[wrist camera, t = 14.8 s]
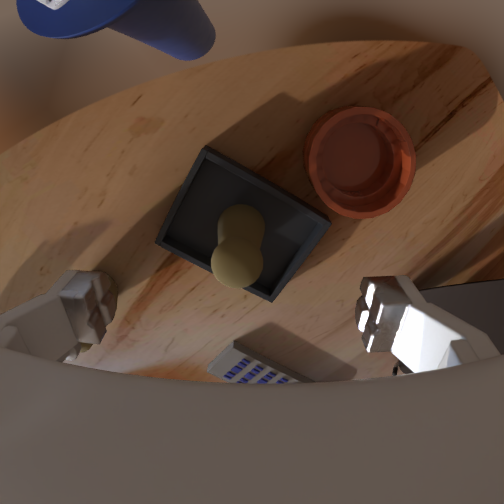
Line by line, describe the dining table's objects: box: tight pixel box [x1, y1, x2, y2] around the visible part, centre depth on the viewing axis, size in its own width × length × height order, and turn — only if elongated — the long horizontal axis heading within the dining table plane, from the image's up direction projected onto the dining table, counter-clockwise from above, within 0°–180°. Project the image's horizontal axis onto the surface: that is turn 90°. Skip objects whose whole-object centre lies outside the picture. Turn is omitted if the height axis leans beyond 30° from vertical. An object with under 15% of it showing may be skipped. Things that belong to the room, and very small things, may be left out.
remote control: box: [207, 341, 317, 384], centre depth 53 cm, size 8×23×2 cm, turn 53°
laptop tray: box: [392, 279, 504, 376], centre depth 44 cm, size 23×23×9 cm
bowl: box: [303, 106, 416, 219], centre depth 33 cm, size 13×13×5 cm
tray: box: [155, 145, 332, 303], centre depth 39 cm, size 18×14×3 cm
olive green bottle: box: [211, 204, 265, 288], centre depth 34 cm, size 6×6×11 cm
